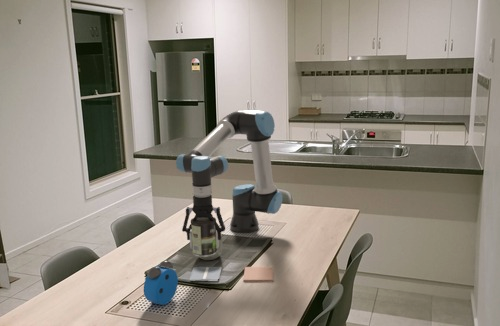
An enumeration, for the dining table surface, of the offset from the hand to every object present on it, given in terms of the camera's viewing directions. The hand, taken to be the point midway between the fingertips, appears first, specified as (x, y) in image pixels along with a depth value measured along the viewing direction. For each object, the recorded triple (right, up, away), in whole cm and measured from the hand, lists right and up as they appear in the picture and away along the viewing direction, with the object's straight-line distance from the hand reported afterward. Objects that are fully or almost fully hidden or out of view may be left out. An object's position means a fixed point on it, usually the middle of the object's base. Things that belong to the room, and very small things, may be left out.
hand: (204, 247), depth 191 cm
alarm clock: (-14, -17, -18) cm, 29 cm away
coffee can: (0, -2, +1) cm, 2 cm away
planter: (0, -9, +20) cm, 22 cm away
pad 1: (0, -12, +3) cm, 12 cm away
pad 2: (+22, -12, +2) cm, 25 cm away
